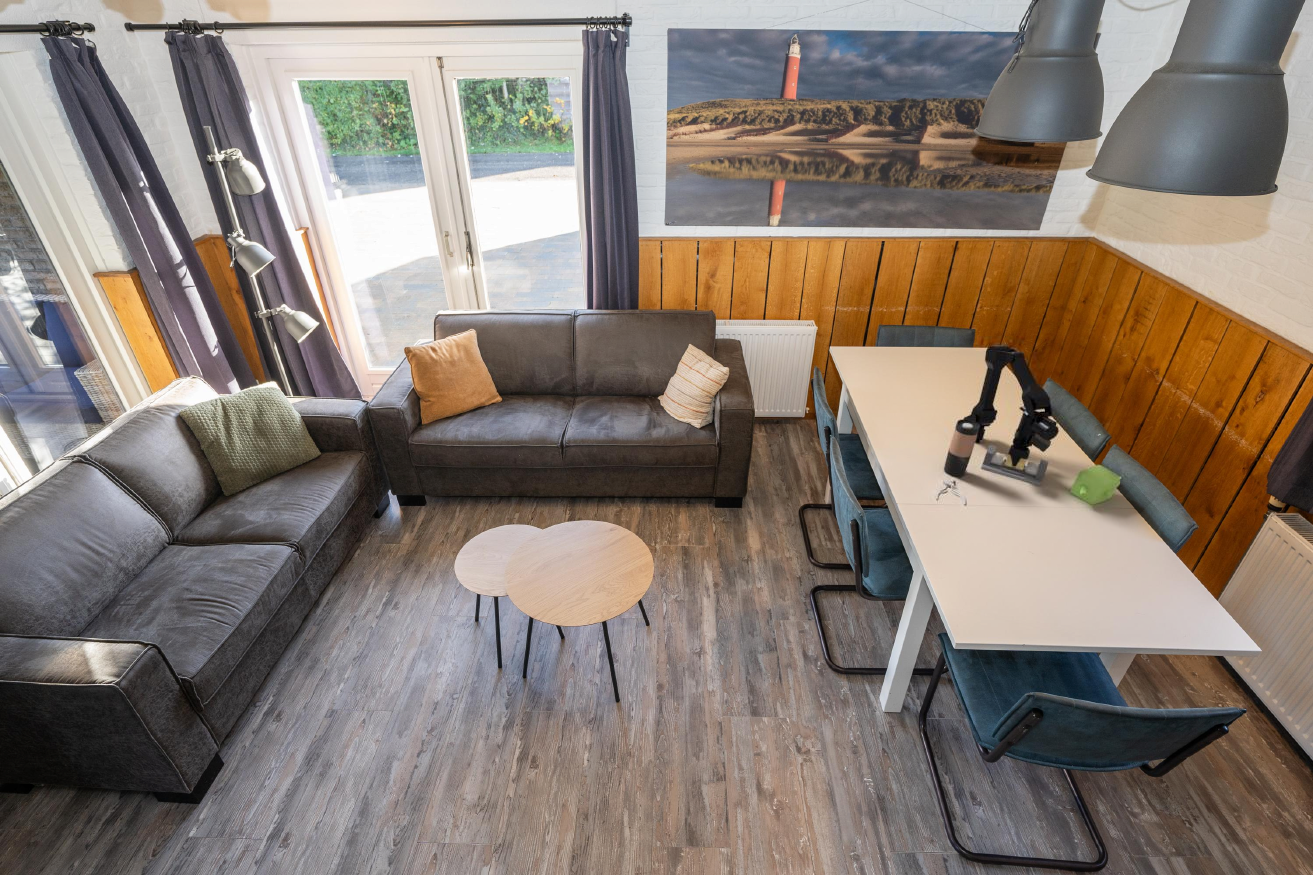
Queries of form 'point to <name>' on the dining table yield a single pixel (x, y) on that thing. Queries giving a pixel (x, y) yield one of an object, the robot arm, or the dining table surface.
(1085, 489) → the green lump
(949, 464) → the travel mug
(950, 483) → the white thin branched piece
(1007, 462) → the banded gold block
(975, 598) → the dining table surface
